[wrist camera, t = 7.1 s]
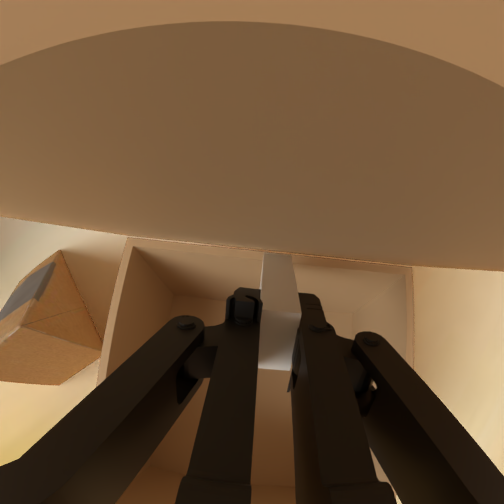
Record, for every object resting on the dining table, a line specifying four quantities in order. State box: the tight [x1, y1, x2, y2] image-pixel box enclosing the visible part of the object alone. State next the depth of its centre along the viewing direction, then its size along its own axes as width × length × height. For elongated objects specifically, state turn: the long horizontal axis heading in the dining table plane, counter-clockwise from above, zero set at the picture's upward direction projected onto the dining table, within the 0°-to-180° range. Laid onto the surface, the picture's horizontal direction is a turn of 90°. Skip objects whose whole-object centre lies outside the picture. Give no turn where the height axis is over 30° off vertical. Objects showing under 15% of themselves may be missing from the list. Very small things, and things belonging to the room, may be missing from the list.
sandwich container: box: [0, 250, 103, 385], centre depth 25 cm, size 9×15×15 cm, turn 37°
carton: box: [96, 237, 414, 504], centre depth 22 cm, size 20×20×13 cm
